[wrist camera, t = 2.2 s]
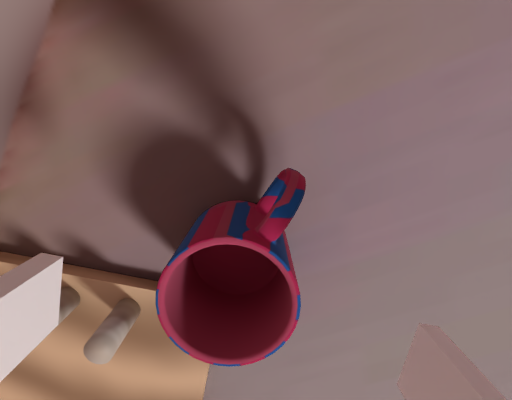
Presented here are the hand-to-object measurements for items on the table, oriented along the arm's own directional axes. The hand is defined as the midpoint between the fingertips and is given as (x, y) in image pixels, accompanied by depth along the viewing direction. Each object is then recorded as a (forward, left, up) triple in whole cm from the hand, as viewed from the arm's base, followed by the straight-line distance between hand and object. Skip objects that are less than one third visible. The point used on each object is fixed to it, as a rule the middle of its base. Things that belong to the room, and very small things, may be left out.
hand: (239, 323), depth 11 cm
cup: (0, 0, -10) cm, 10 cm away
